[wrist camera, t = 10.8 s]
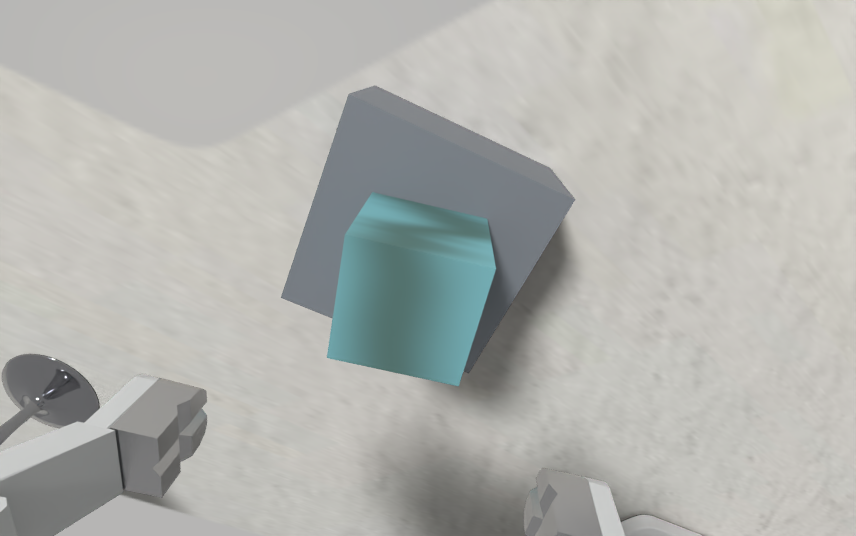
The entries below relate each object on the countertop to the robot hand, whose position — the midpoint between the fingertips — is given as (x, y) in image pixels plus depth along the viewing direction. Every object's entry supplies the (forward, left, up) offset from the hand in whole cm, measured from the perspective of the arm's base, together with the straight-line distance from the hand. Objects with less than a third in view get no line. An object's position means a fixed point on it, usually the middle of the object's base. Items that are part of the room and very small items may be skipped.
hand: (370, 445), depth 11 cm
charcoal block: (0, -1, -17) cm, 17 cm away
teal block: (0, 0, -11) cm, 11 cm away
